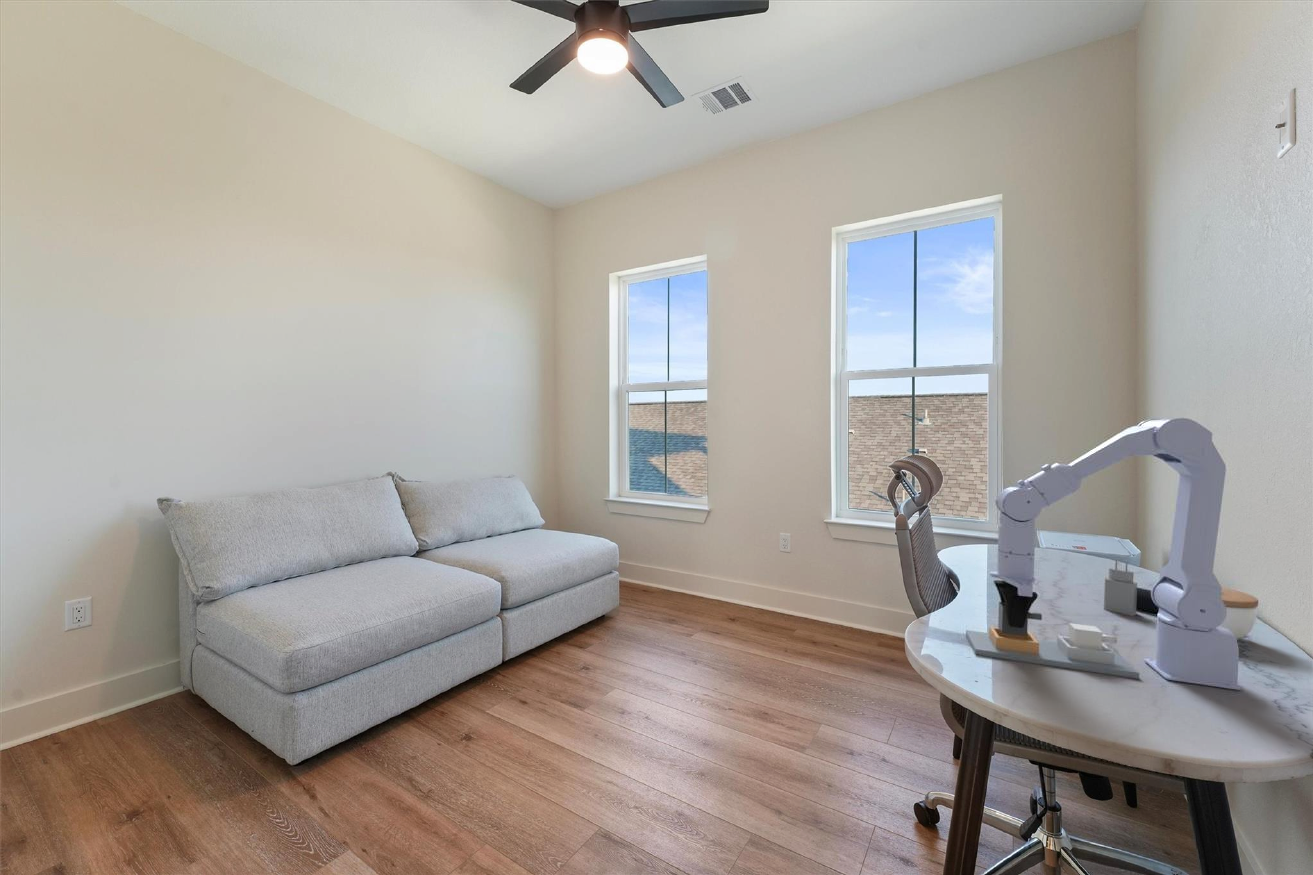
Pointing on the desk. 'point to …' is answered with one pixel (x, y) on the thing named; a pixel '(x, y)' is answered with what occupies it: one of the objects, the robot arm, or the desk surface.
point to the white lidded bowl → (1239, 612)
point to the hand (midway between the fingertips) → (1013, 623)
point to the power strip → (1056, 650)
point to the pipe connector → (1146, 601)
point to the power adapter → (1120, 591)
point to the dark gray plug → (1007, 629)
